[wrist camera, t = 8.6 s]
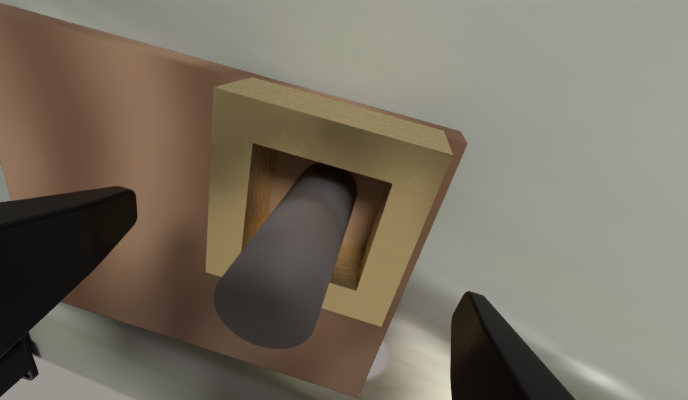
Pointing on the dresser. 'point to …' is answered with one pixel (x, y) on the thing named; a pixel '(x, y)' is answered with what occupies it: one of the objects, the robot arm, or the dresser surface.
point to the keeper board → (189, 200)
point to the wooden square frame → (332, 149)
